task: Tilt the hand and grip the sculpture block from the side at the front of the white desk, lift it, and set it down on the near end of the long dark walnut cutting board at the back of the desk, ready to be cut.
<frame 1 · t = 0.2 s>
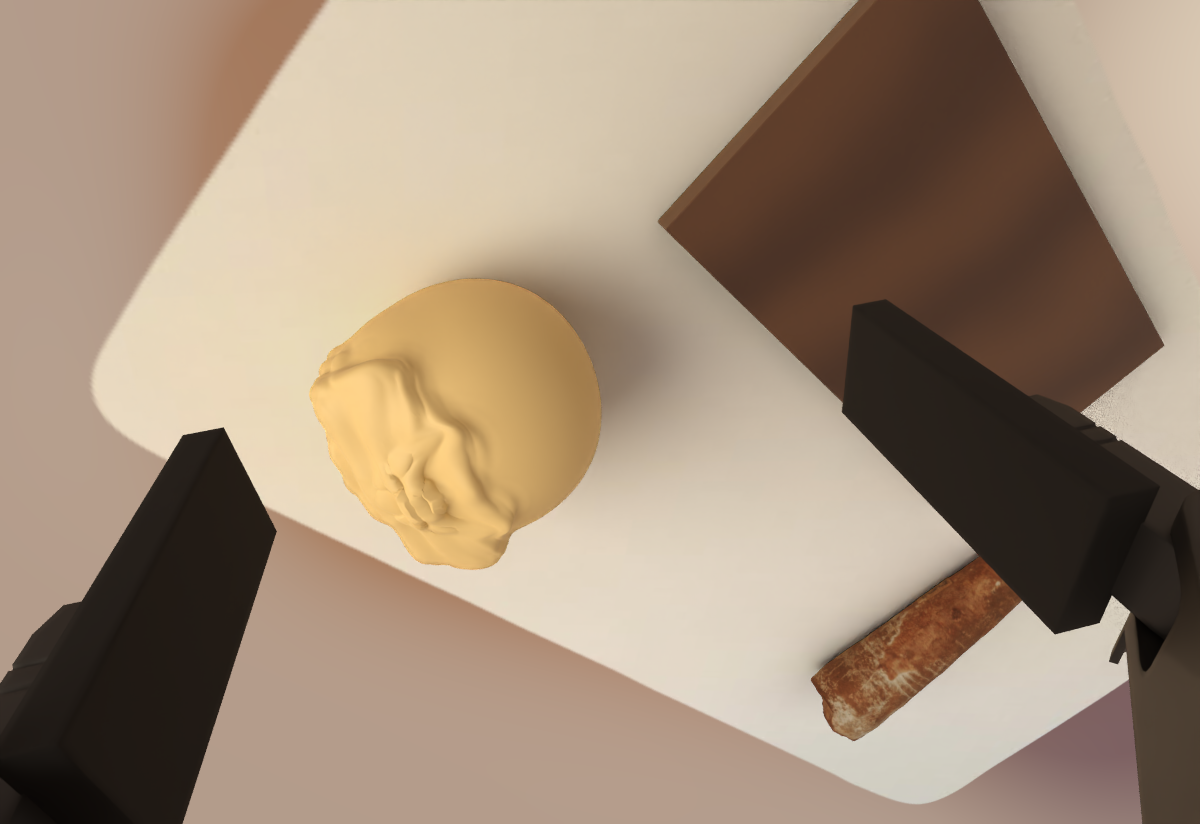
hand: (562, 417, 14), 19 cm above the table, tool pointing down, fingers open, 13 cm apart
cutting board: (933, 286, 37), on the table
sculpture: (466, 363, 34), on the table
bread: (901, 609, 53), on the table
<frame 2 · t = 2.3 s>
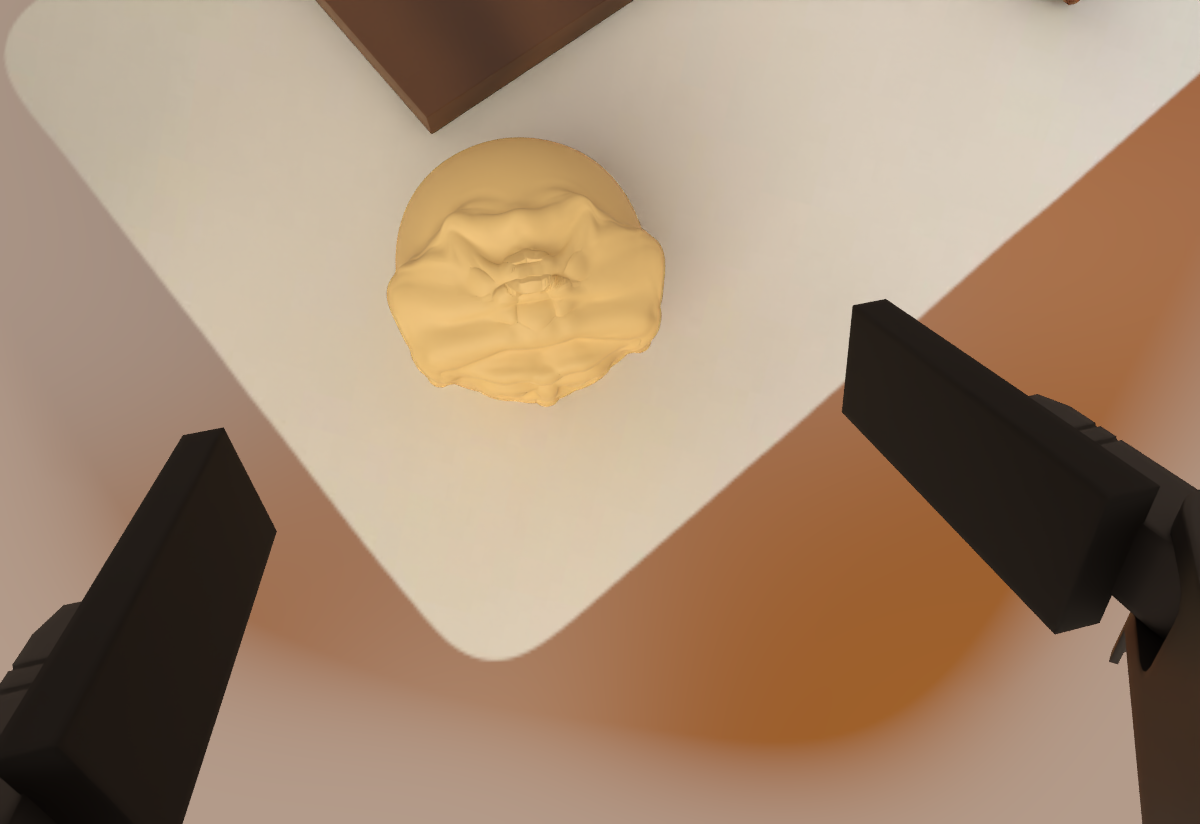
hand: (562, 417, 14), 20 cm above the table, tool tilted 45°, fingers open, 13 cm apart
sculpture: (529, 316, 35), on the table
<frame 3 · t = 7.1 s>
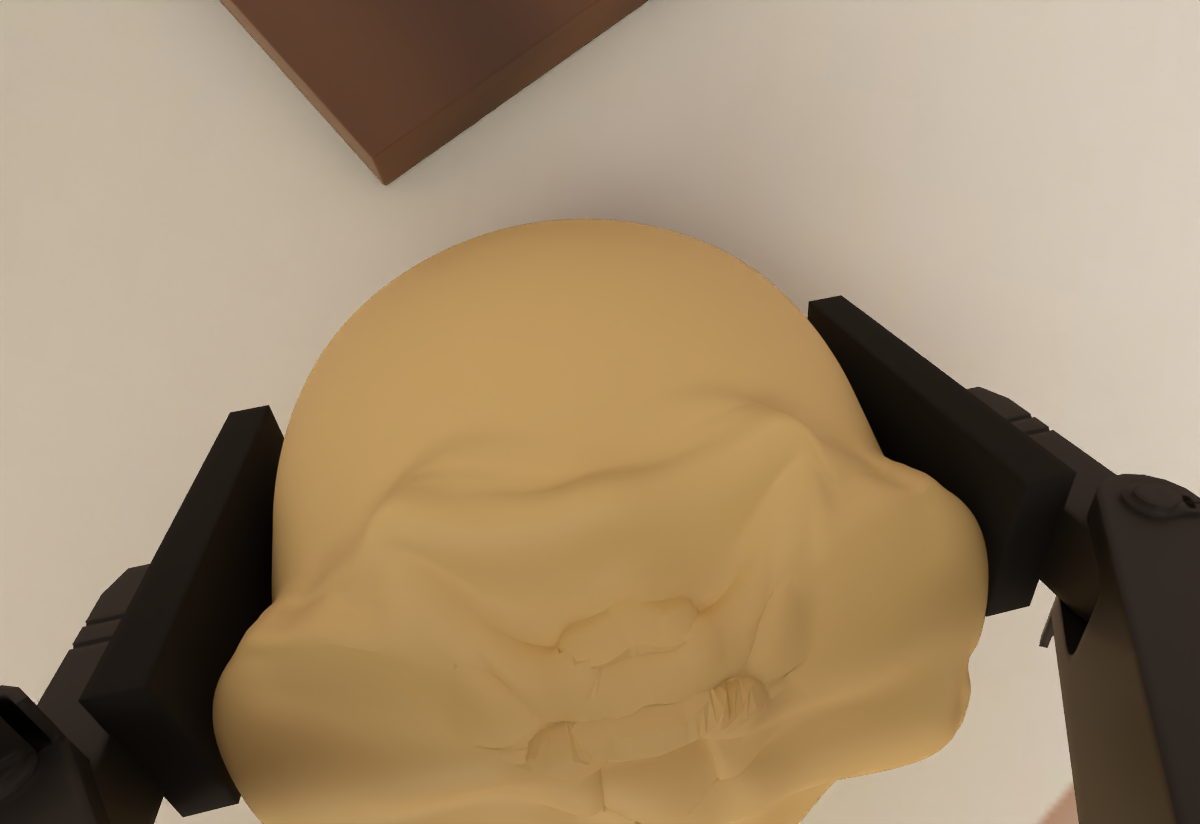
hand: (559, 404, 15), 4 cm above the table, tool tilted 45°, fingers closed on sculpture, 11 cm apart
sculpture: (579, 534, 18), on the table, touching gripper
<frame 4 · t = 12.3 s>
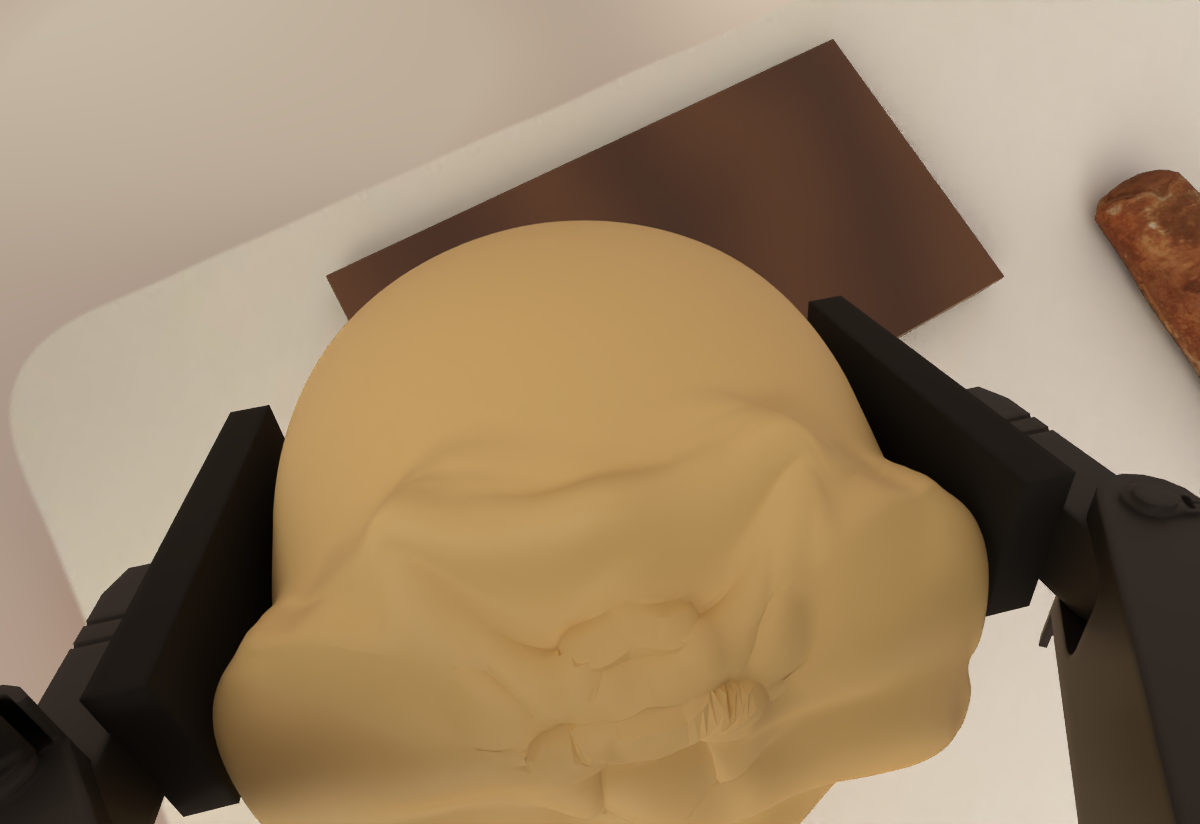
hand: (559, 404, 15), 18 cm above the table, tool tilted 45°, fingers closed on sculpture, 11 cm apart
cutting board: (671, 288, 34), on the table
sculpture: (579, 535, 18), point 13 cm above the table, touching gripper
bread: (1188, 352, 36), on the table
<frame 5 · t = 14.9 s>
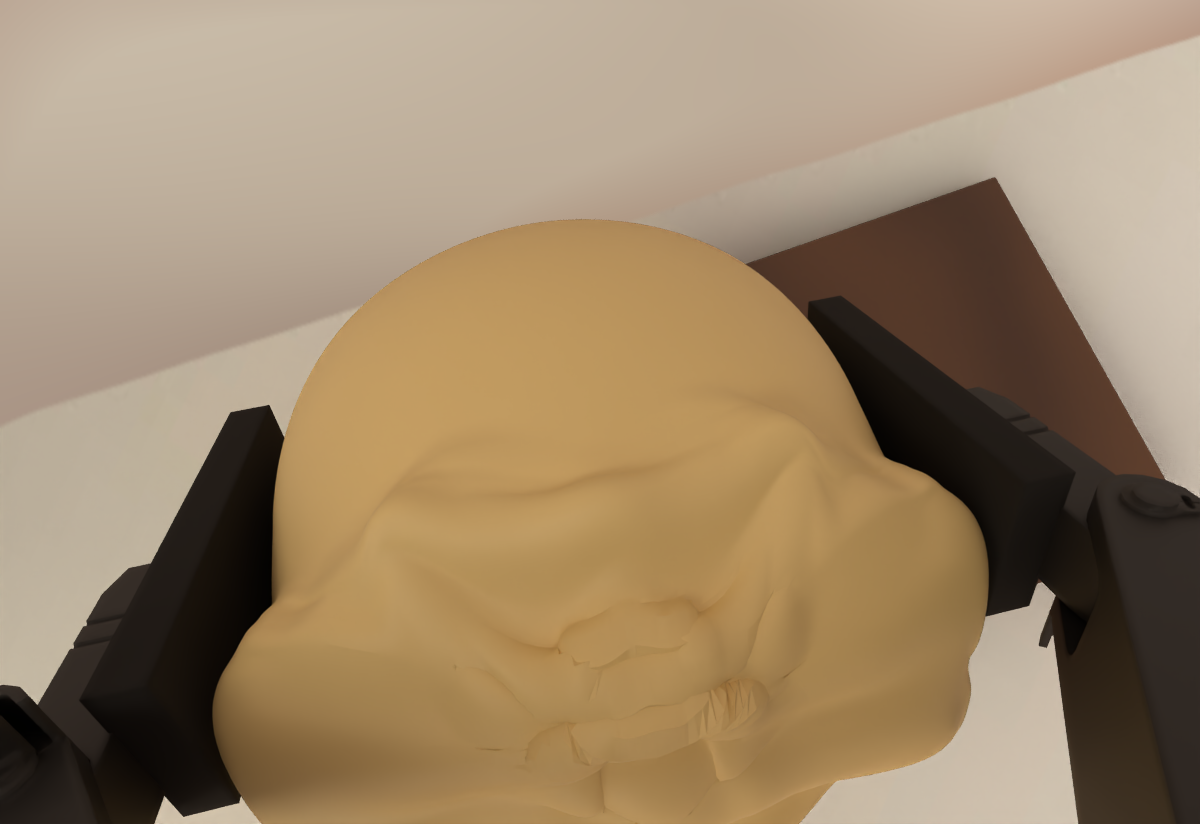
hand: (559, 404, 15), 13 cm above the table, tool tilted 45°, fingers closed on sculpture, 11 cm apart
cutting board: (755, 469, 27), on the table
sculpture: (579, 534, 18), point 8 cm above the table, touching gripper
when the fingers open (6 cm above the table, at t = 17.4 s): sculpture stays where it is, resting on cutting board.
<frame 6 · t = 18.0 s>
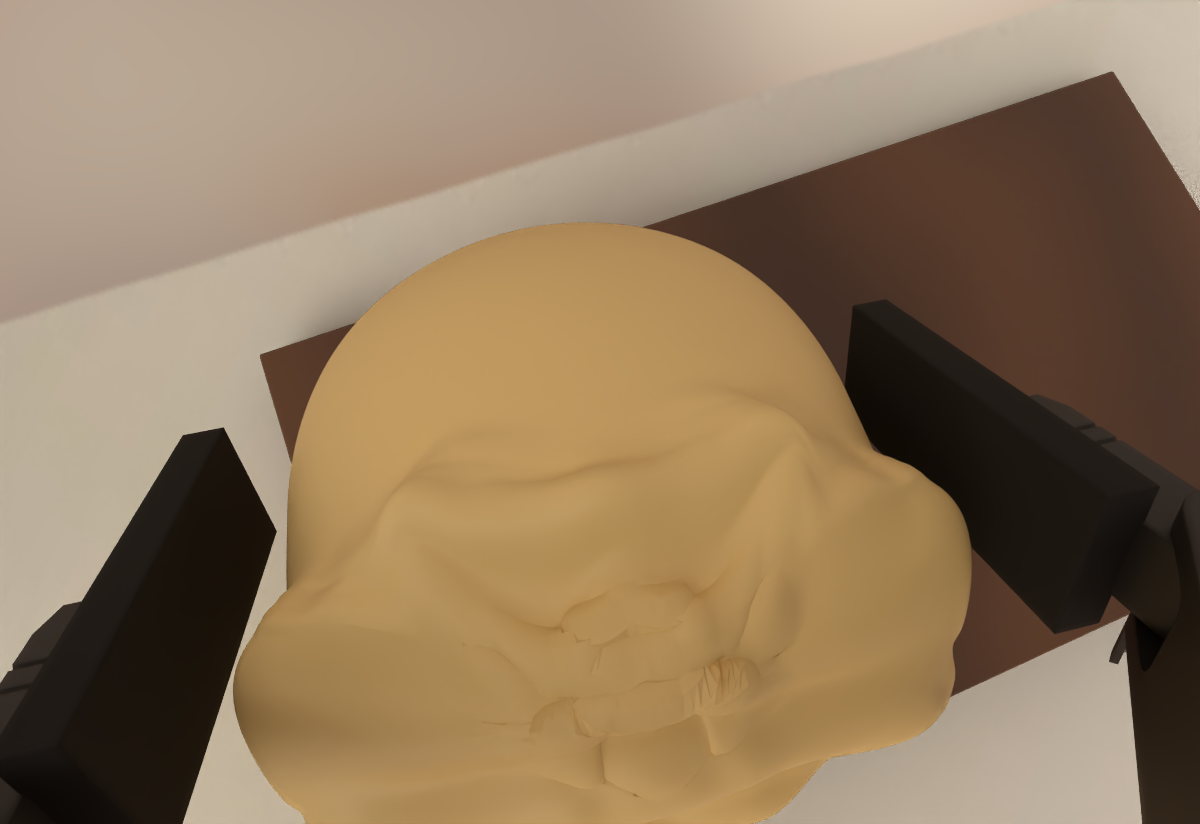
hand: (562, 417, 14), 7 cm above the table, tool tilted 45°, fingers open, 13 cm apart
cutting board: (813, 437, 21), on the table
sculpture: (580, 529, 19), point 1 cm above the table, touching cutting board
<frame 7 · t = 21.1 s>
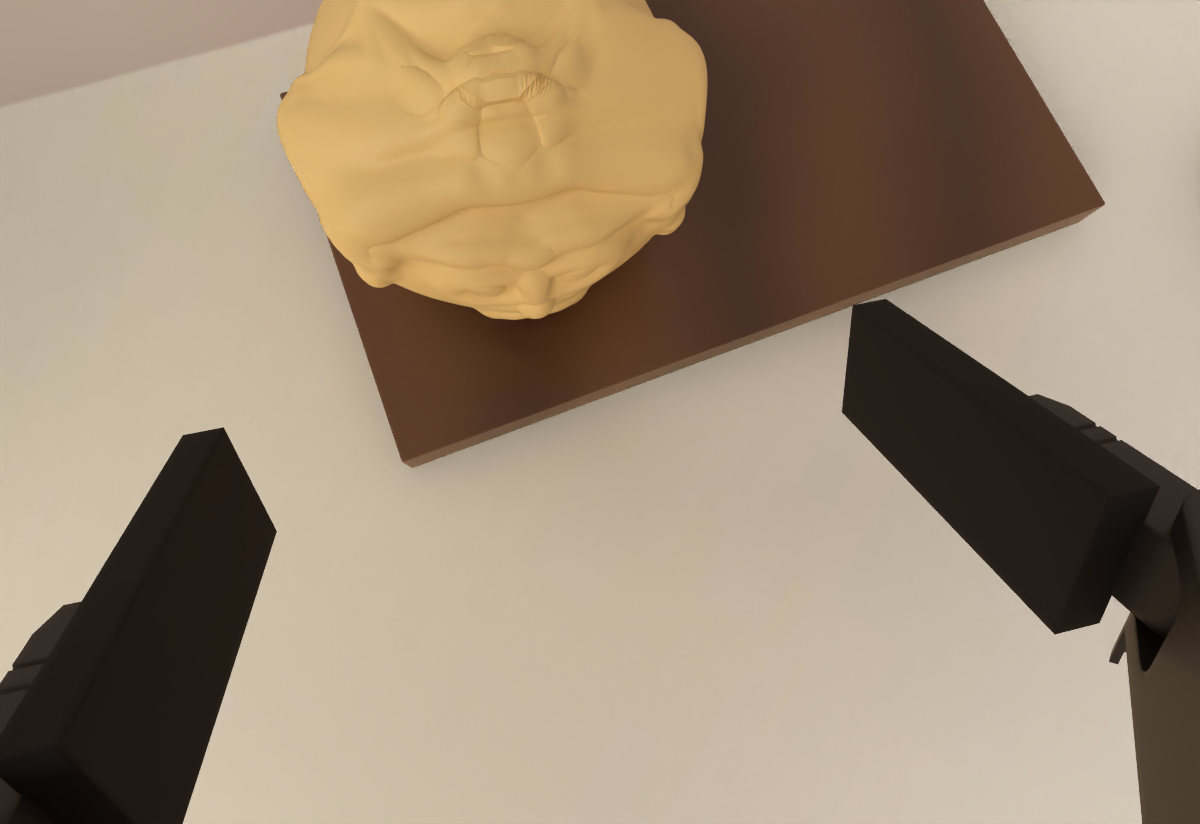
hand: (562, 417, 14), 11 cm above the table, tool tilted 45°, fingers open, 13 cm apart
cutting board: (691, 170, 28), on the table
sculpture: (512, 213, 26), point 1 cm above the table, touching cutting board
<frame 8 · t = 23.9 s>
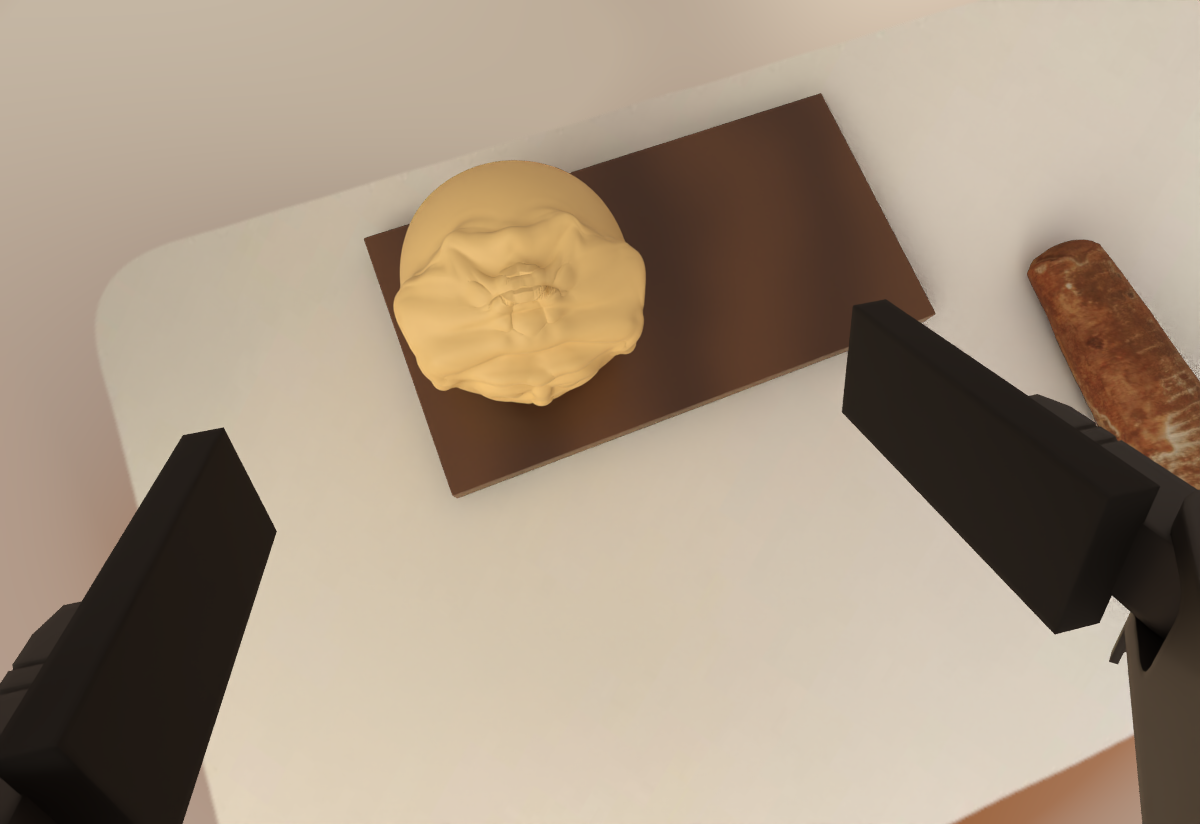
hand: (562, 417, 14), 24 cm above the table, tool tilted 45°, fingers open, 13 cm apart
cutting board: (650, 286, 40), on the table
sculpture: (524, 323, 38), point 1 cm above the table, touching cutting board
bread: (1093, 401, 41), on the table
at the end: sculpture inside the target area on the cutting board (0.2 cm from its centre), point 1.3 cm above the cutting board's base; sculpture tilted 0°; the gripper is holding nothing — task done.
